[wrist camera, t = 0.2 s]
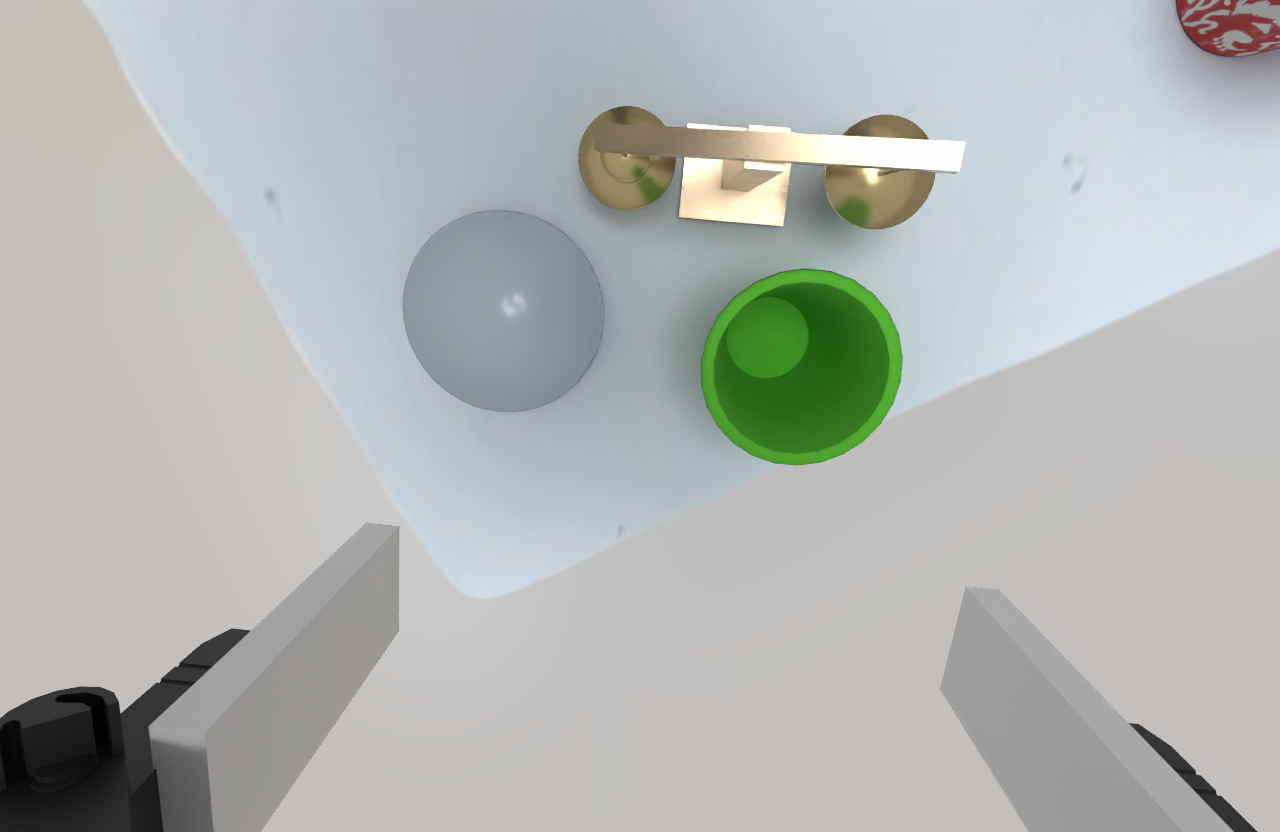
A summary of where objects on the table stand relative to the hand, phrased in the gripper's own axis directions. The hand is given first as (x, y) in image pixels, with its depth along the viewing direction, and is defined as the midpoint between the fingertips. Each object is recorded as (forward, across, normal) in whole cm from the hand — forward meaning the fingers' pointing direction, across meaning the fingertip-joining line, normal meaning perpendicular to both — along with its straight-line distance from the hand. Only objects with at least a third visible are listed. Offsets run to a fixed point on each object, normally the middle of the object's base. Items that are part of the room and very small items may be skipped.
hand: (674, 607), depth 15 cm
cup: (+27, +6, +3) cm, 28 cm away
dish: (+27, -10, +3) cm, 29 cm away
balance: (+27, +2, +12) cm, 29 cm away
